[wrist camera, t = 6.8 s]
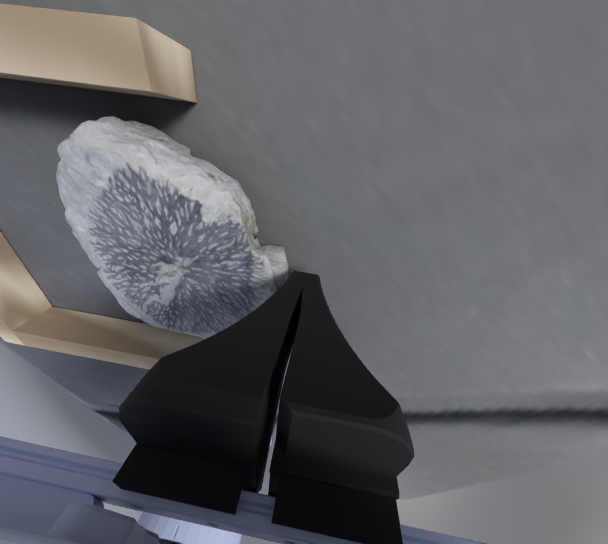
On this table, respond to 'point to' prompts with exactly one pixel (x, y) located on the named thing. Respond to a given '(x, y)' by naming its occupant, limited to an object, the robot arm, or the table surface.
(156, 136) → the fossil
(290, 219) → the table surface
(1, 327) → the bay
